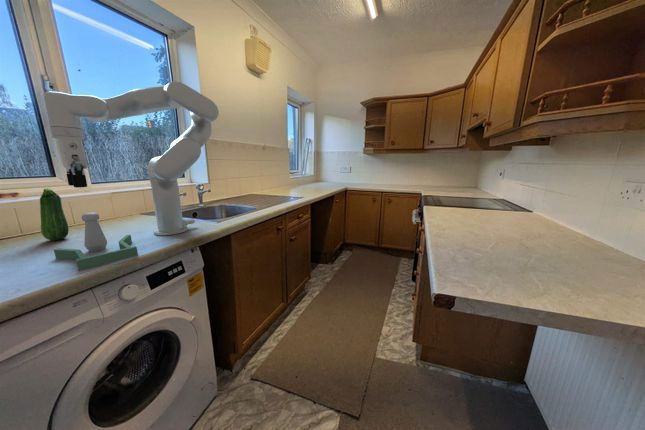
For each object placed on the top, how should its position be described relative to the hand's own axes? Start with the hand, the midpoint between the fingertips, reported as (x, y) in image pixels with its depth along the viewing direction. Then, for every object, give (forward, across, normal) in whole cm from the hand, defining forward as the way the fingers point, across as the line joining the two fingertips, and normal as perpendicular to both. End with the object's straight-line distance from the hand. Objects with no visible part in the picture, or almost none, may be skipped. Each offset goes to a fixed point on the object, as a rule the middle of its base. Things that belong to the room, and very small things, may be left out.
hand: (77, 186), depth 85 cm
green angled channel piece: (+21, -16, -1) cm, 27 cm away
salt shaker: (+22, -8, -1) cm, 23 cm away
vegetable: (+22, +18, +6) cm, 29 cm away
